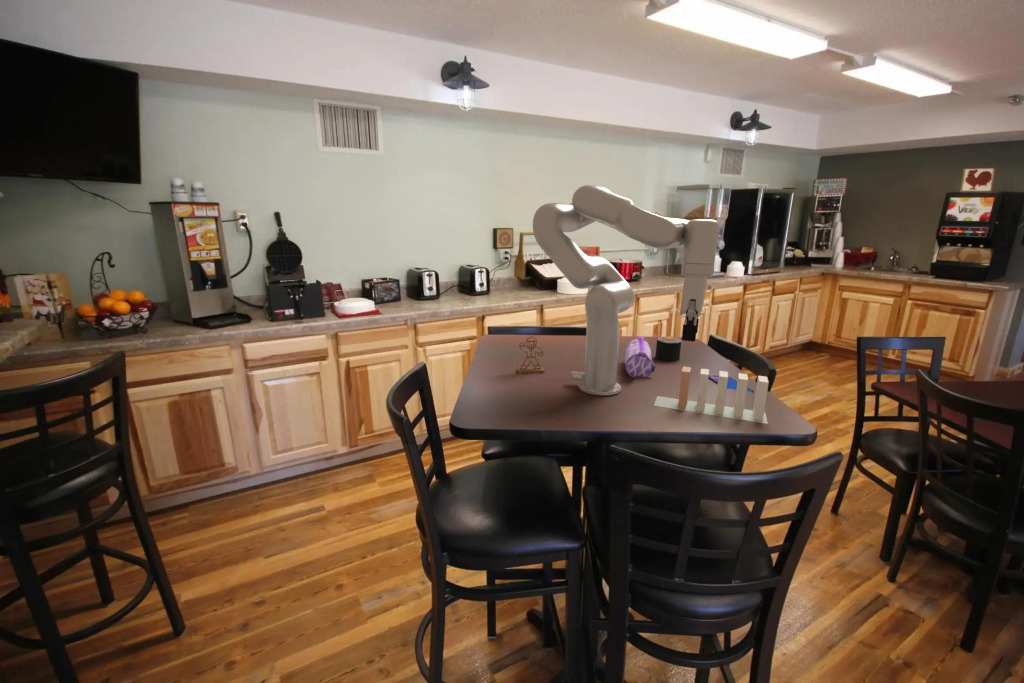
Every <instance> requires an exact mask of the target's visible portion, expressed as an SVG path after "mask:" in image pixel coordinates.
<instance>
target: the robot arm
mask: <svg viewBox="0 0 1024 683" xmlns="http://www.w3.org/2000/svg"><path fill="white" fill-rule="evenodd" d="M633 201H634V200H631V199H630V198H627V197H624V196H622V195H619V194H617V193H614V192H612V191H611V190H609V189H608V188H606V187H604V186H596V185H592V184H587V185H582V186H580V187H578V188H577V189H576V190H575V191H574V193H573V195H572V198H571V203H561V202H550V203H549V202H548V203H545V204H543V205H540V206H539V207H538V208H537V210H536V211H535V213H534V215H533V218H532V233H533V236H534V239H535V241H536V243H537V245H538V247H540V249H541V250H542V251H543V252H544V254H545V255H547V257H548V258H549V259H550V260H551V261H552V263H553V264H554V265H555V266H556V268H557V269H558V270H559V271H560V272H561V273H562V275H563V276H564V277H565V279H566V280H567V281H568V282H569V283H570V285H572V286H573V287H574V288H576V289H577V290H579V289H580V290H584V289H590V288H591V289H590V290H589V291H587V294H586V297H585V300H584V308H585V309H584V310H585V317H586V318H585V319H586V329H585V330H586V332H585V333H586V335H585V336H586V338H585V352H584V353H585V355H584V371H581V372H578V371H574V370H572V371H571V372H570V378H571V379H572V380H575V381H579V382H578V386H577V387H578V389H579V390H580V391H581V392H583V393H585V394H589V395H594V396H602V397H603V396H604V397H605V396H606V397H607V396H612V395H613V396H614V395H617V394H619V393H620V392H622V386H621V384H620V383H618V382H617V377H618V376H617V375H618V364H619V363H618V361H619V360H618V358H619V348H620V347H619V346H620V332H621V330H620V322H619V314H621V313H624V312H626V311H628V310H629V309H630V308H631V307H632V305H633V303H634V301H635V294H634V293H635V292H634V290H633V288H632V287H631V284H629V282H628V281H626V279H625V278H624V276H622V275H621V273H619V271H618V270H617V269H616V268H615V266H614V265H613V264H612V263H610V261H609V260H607V259H606V258H604V257H602V256H600V255H587V254H586V253H585V252H584V251H583V250H582V249H581V248H580V247H579V246H578V244H577V243H576V242H575V241H574V240H573V239H571V238H570V237H569V236H568V235H566V234H565V233H573V232H576V231H579V230H580V229H582V228H584V227H587V226H589V225H591V224H592V223H593V224H594V223H595V222H597V223H600V224H602V225H604V226H606V227H609V228H611V229H614V230H616V231H618V233H621V234H623V235H625V236H626V237H628V238H630V239H632V240H634V241H636V242H640V243H642V244H644V245H646V246H649V247H652V248H655V249H659V250H660V249H661V250H663V249H664V250H665V249H679V248H683V252H682V259H681V260H682V262H681V271H680V276H682V277H684V280H683V286H682V294H681V300H680V301H681V302H680V310H679V315H680V316H683V315H685V316H684V323H683V324H682V334H681V341H684V342H685V341H686V342H696V339H697V338H696V337H697V333H698V328H699V321H700V320H699V319H700V318H699V317H701V315H702V312H703V307H704V304H705V297H706V292H707V285H708V284H707V282H708V278H713V276H714V272H715V271H714V268H715V261H716V253H717V247H718V246H717V245H718V237H719V230H720V229H719V228H720V225H719V222H718V221H717V220H716V219H708V218H704V219H703V218H698V219H697V218H696V219H690V220H689V219H685V218H683V219H682V218H677V217H664V216H661V215H658V214H655V213H652V212H650V211H647V210H645V209H642V208H640V207H638V206H636V205H635V204H634V202H633Z"/></svg>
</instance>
